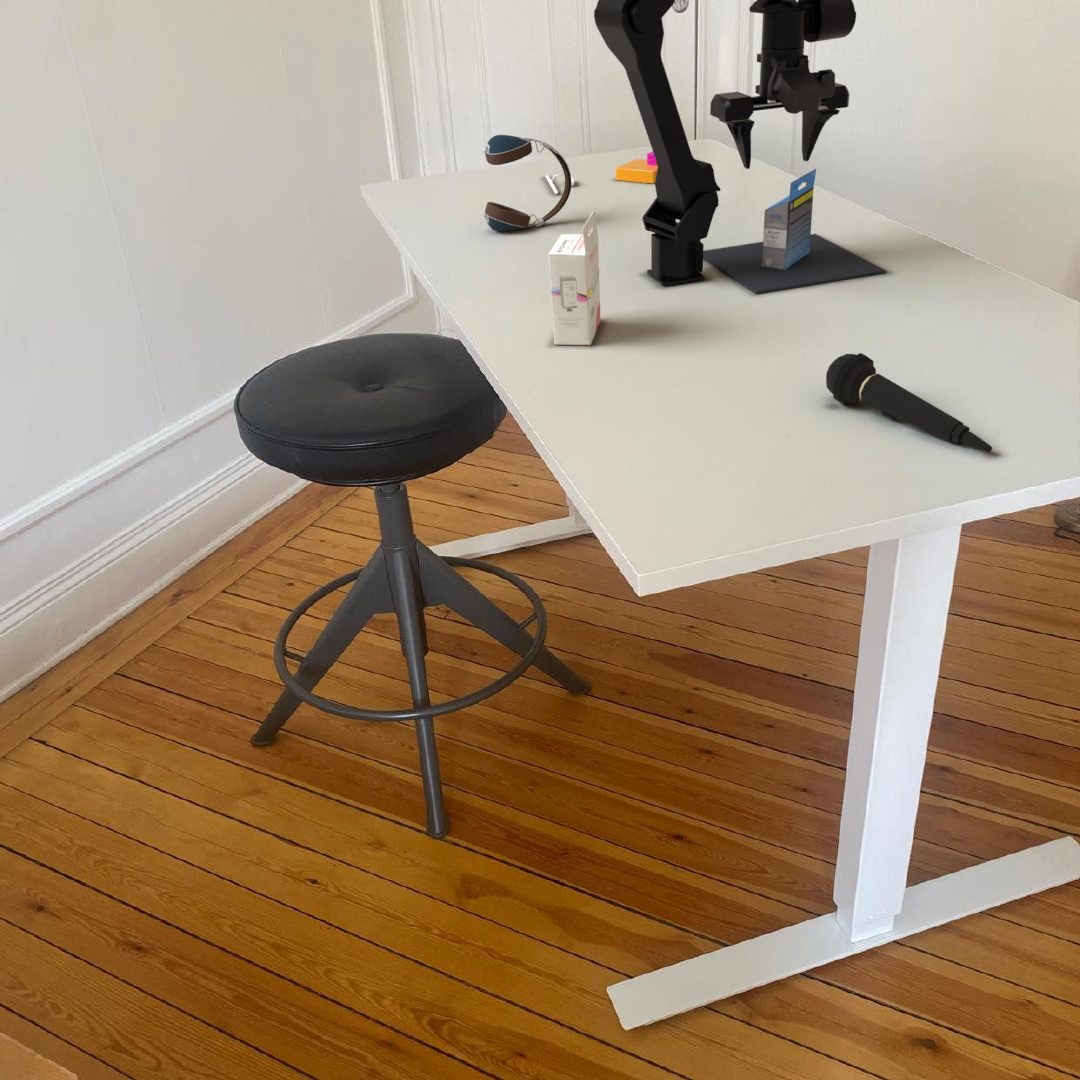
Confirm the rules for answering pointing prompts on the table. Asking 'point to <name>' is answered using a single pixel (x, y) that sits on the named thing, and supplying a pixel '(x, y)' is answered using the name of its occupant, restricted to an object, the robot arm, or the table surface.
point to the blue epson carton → (789, 226)
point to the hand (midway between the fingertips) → (776, 164)
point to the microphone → (893, 400)
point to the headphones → (511, 150)
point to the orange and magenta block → (639, 170)
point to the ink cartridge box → (575, 286)
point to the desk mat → (811, 269)
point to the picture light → (554, 185)
